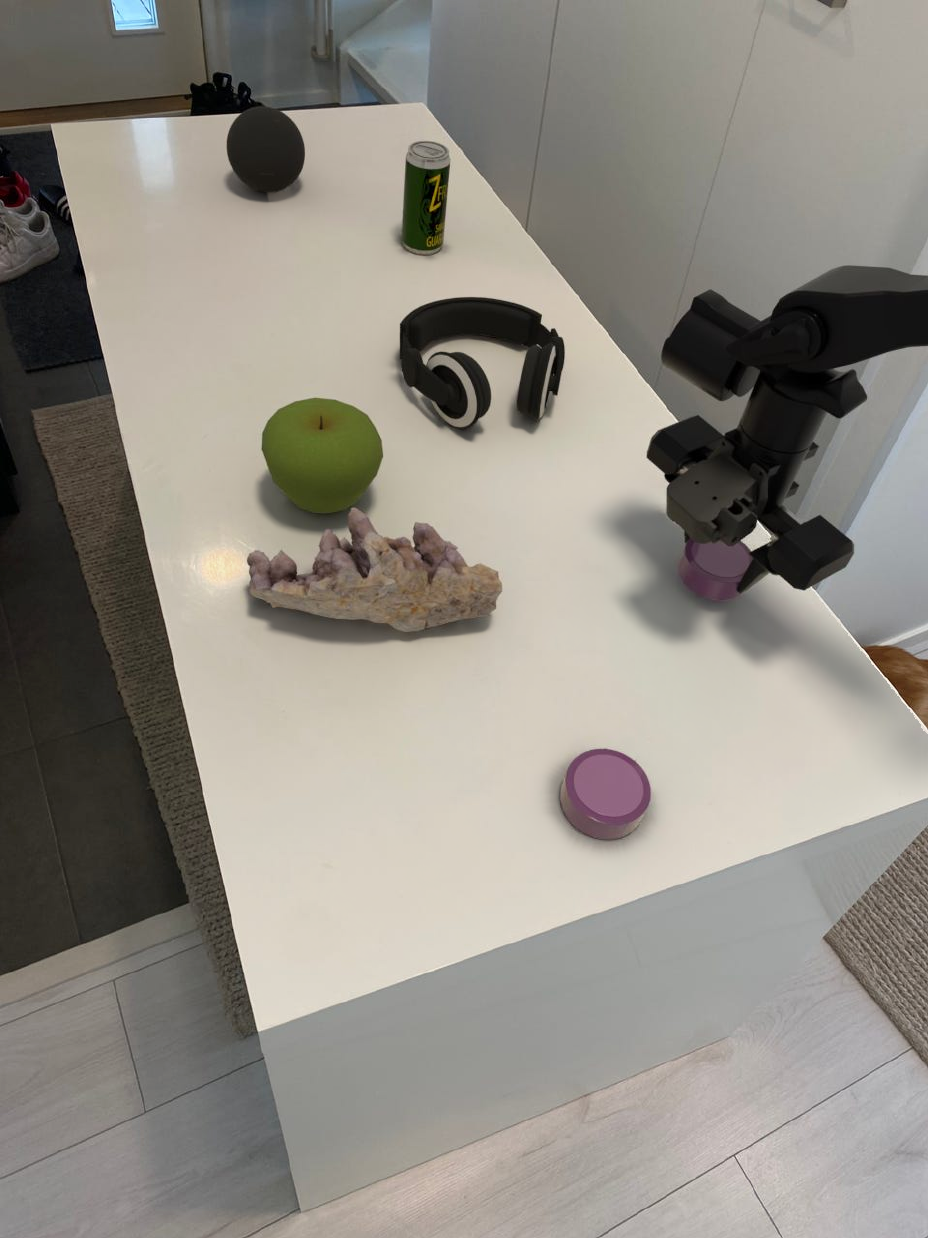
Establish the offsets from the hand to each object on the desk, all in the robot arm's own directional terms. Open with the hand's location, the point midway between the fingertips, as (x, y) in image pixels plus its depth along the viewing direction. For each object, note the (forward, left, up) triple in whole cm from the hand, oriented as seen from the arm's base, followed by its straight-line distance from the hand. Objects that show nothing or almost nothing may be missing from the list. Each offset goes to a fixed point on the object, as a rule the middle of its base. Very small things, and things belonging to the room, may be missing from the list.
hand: (715, 566), depth 84 cm
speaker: (+83, +2, -3) cm, 83 cm away
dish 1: (-12, +23, -3) cm, 26 cm away
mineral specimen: (+13, +28, -3) cm, 31 cm away
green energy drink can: (+62, -9, -3) cm, 63 cm away
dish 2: (0, 0, -1) cm, 1 cm away
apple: (+27, +25, -3) cm, 37 cm away
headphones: (+35, +1, -3) cm, 35 cm away
